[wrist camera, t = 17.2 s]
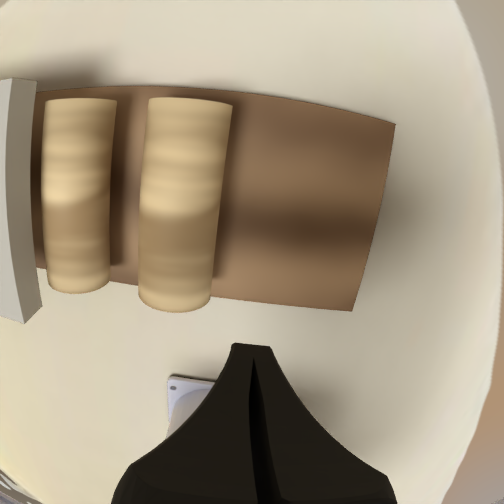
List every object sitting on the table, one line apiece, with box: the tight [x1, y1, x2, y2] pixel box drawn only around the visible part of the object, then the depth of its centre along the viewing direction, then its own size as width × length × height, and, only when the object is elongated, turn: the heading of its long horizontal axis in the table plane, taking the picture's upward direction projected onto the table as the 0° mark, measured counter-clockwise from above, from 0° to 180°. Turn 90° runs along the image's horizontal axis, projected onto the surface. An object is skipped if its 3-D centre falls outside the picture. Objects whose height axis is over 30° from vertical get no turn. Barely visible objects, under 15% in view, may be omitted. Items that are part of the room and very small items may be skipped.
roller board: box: [30, 86, 396, 313], centre depth 14 cm, size 12×34×8 cm, turn 82°
